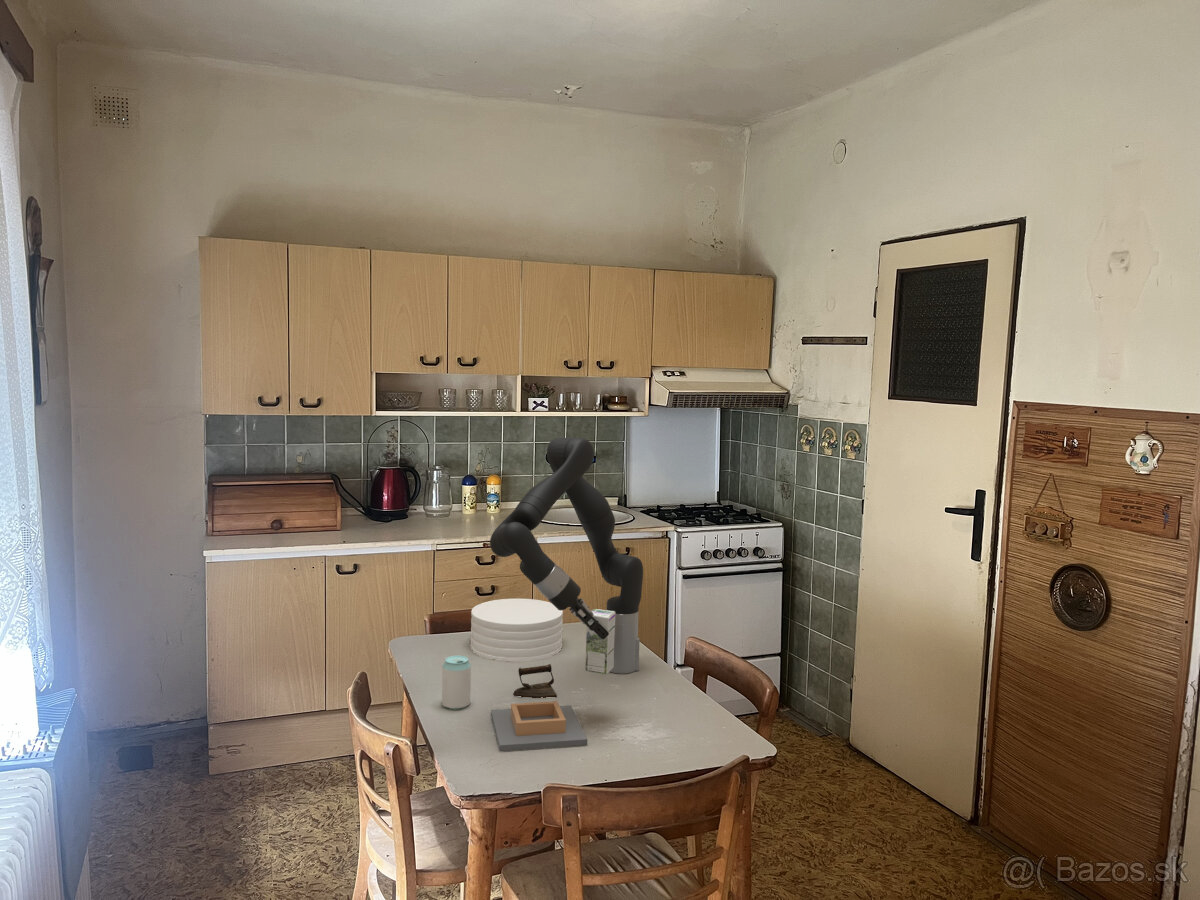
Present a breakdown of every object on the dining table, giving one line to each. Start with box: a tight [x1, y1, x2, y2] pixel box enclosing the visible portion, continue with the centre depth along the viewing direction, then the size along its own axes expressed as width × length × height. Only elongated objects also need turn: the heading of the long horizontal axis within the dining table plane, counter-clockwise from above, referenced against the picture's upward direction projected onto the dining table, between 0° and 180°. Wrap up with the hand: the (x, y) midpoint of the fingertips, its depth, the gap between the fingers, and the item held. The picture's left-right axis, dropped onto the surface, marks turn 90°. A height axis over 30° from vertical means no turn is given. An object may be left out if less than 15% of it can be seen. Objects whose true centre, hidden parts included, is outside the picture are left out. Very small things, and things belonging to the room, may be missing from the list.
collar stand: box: [490, 700, 588, 752], centre depth 199 cm, size 20×20×4 cm
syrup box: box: [584, 608, 615, 675], centre depth 206 cm, size 6×6×14 cm
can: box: [441, 655, 472, 710], centre depth 213 cm, size 7×7×12 cm
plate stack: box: [470, 598, 564, 662], centre depth 260 cm, size 28×28×12 cm
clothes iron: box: [512, 663, 558, 699], centre depth 221 cm, size 7×11×10 cm, turn 108°
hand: (602, 631), depth 206 cm, fingers closed on syrup box, 8 cm apart
